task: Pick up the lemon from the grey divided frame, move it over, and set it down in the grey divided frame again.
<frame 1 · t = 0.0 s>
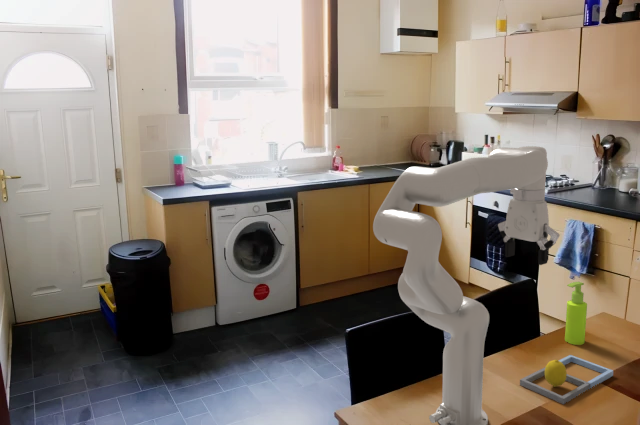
hand: (525, 259, 145), 37 cm above the table, tool pointing down, fingers open, 9 cm apart
lemon: (554, 387, 153), resting in grey divided frame
soap dispenser: (573, 342, 181), on the table
grey divided frame: (566, 380, 156), on the table
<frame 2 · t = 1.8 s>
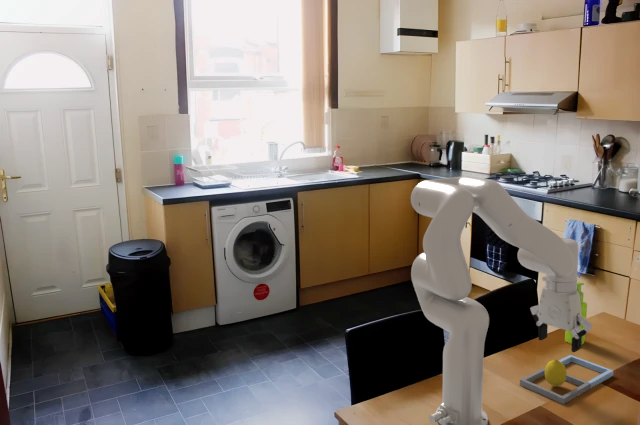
hand: (558, 344, 151), 12 cm above the table, tool pointing down, fingers open, 9 cm apart
nothing on the table moved.
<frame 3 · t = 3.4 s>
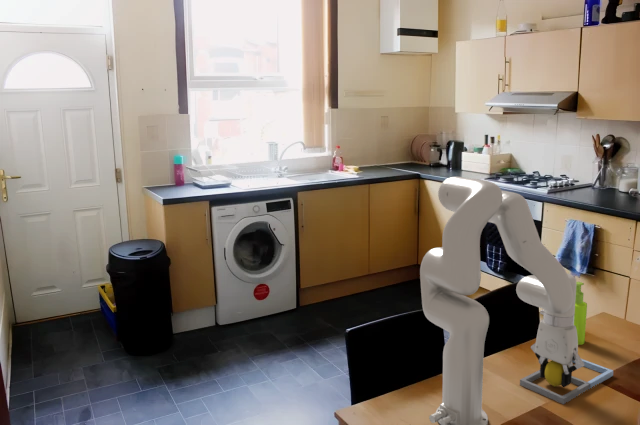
hand: (555, 380, 153), 2 cm above the table, tool pointing down, fingers closed on lemon, 5 cm apart
lemon: (554, 387, 153), resting in grey divided frame, touching gripper
everything else where it was.
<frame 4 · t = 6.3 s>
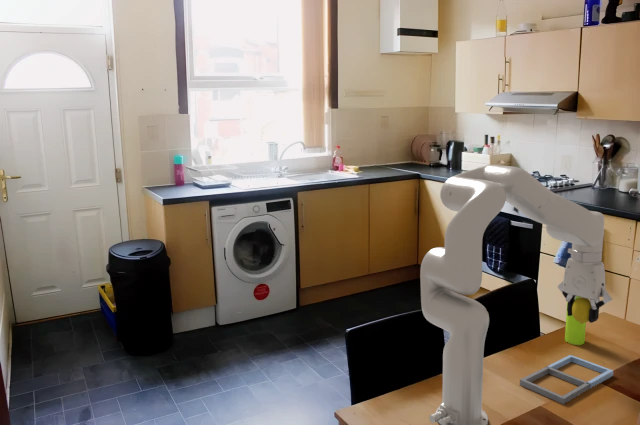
hand: (582, 317, 156), 17 cm above the table, tool pointing down, fingers closed on lemon, 5 cm apart
lemon: (581, 324, 157), point 15 cm above the table, touching gripper
everything else where it was.
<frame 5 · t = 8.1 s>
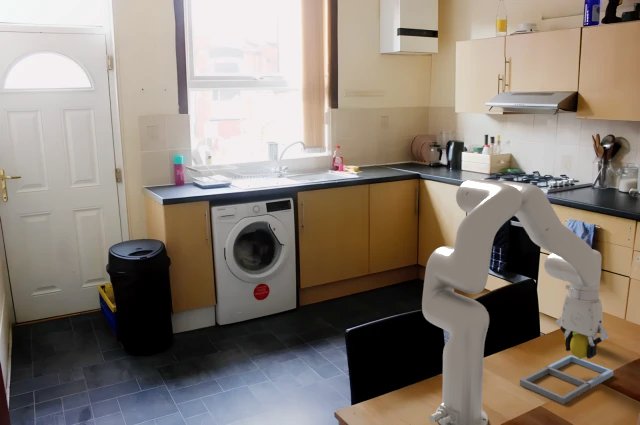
hand: (580, 352, 159), 6 cm above the table, tool pointing down, fingers closed on lemon, 5 cm apart
lemon: (579, 359, 159), point 4 cm above the table, touching gripper
everything else where it was.
when the fingers open (3 cm above the table, at t = 9.6 s): lemon drops 1 cm, resting in grey divided frame.
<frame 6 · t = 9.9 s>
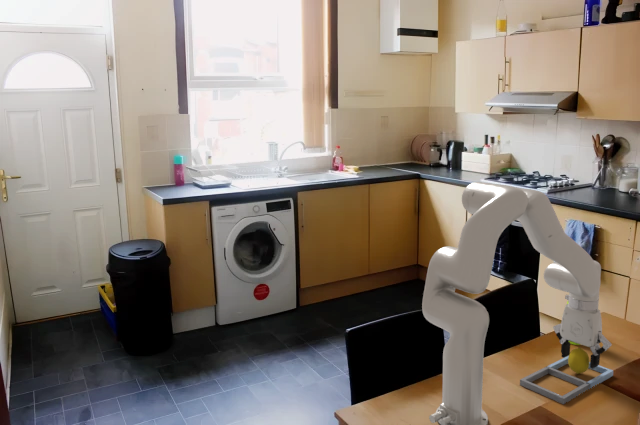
hand: (579, 361, 159), 4 cm above the table, tool pointing down, fingers open, 8 cm apart
lemon: (578, 374, 160), resting in grey divided frame
everything else where it was.
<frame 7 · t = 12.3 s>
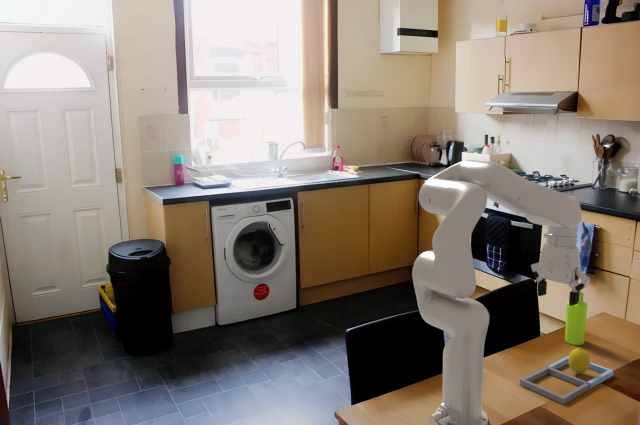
hand: (557, 299, 156), 22 cm above the table, tool pointing down, fingers open, 9 cm apart
nothing on the table moved.
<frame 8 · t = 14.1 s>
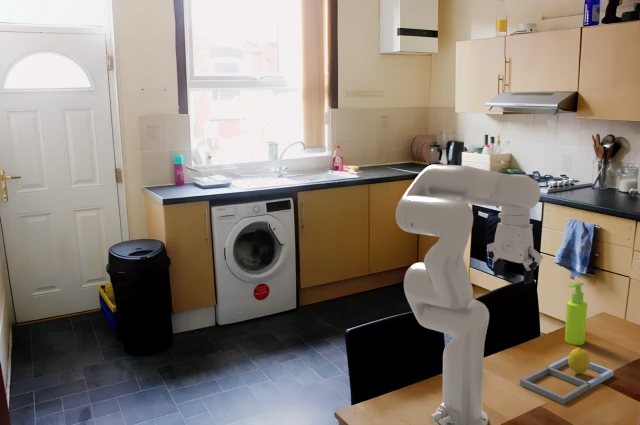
hand: (512, 279, 157), 28 cm above the table, tool pointing down, fingers open, 9 cm apart
nothing on the table moved.
at the end: lemon 0.2 cm from the target spot on the grey divided frame, point 0.0 cm above the grey divided frame's base; the gripper is holding nothing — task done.
